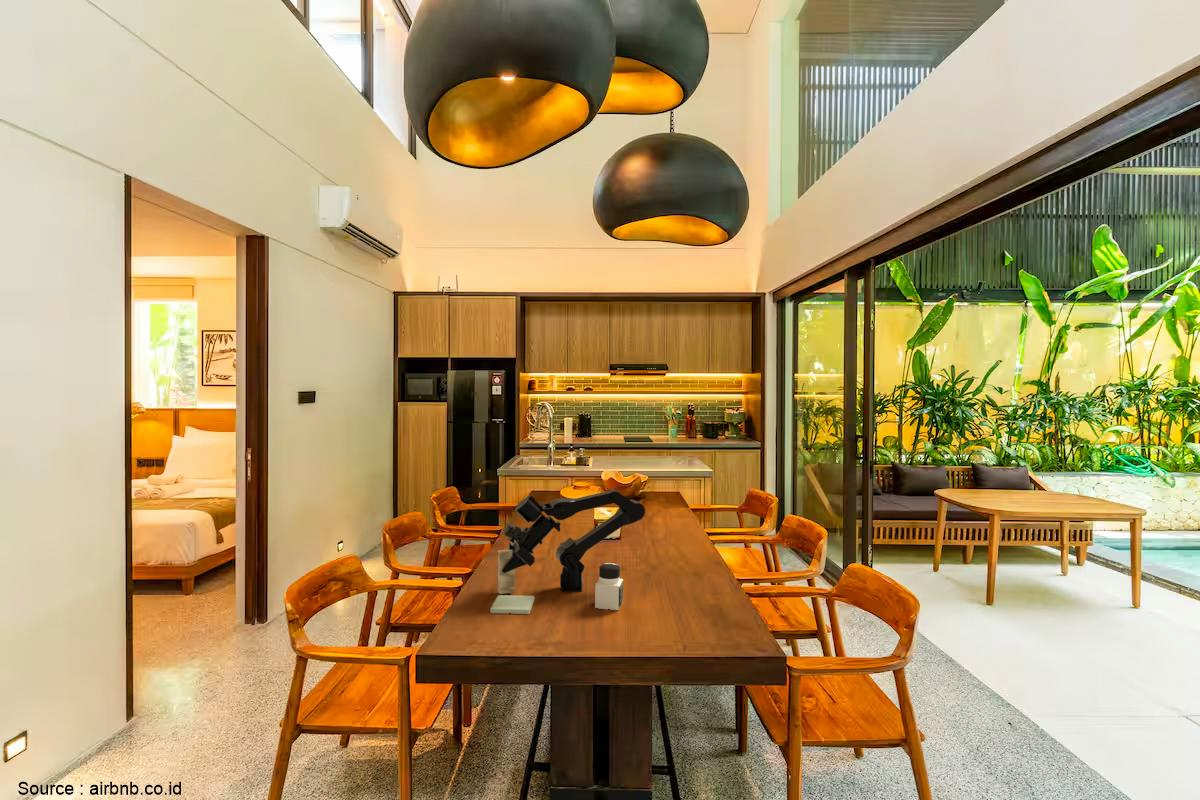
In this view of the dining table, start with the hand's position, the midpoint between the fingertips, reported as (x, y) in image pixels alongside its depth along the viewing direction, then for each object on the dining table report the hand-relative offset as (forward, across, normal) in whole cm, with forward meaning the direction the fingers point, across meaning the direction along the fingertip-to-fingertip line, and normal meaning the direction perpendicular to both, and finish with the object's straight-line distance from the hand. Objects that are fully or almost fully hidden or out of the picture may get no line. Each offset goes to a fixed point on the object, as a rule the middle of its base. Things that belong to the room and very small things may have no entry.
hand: (501, 569), depth 178 cm
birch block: (+4, 0, +6) cm, 7 cm away
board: (+4, +11, +7) cm, 13 cm away
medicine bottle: (-15, +17, +26) cm, 35 cm away
